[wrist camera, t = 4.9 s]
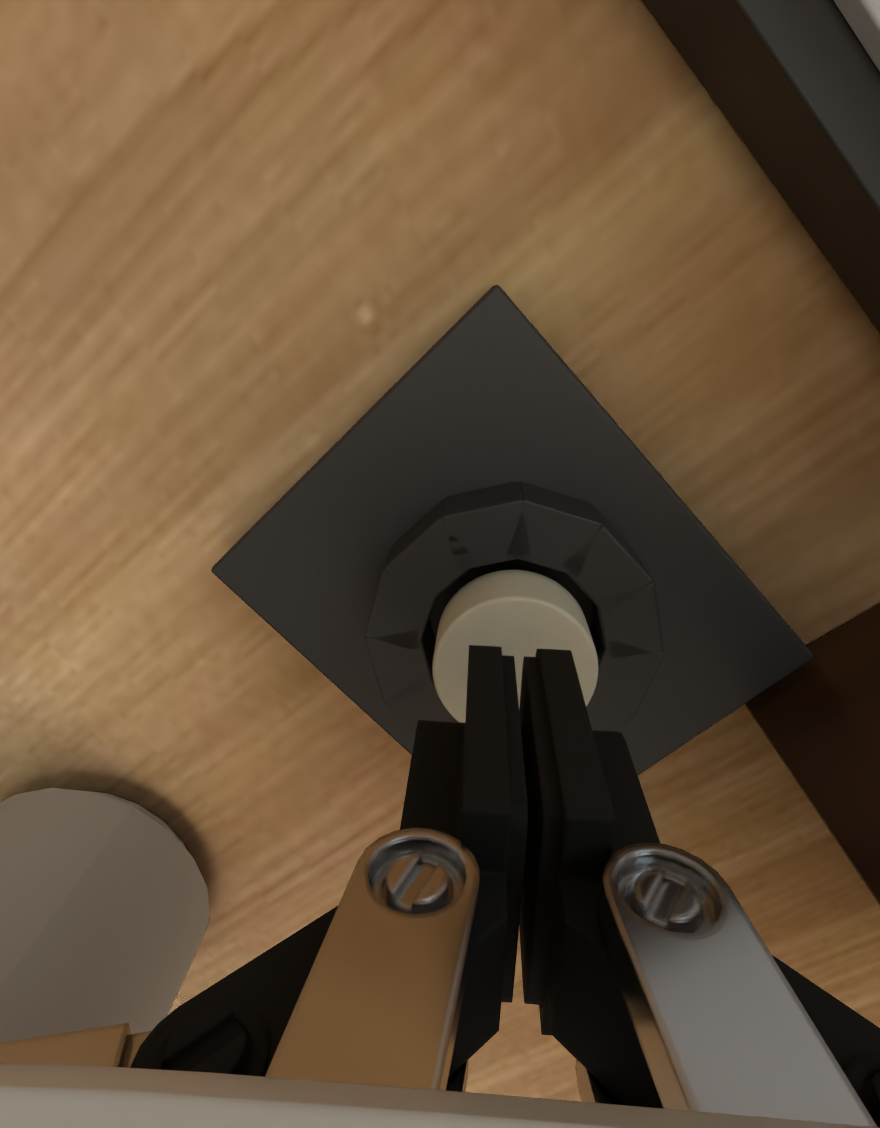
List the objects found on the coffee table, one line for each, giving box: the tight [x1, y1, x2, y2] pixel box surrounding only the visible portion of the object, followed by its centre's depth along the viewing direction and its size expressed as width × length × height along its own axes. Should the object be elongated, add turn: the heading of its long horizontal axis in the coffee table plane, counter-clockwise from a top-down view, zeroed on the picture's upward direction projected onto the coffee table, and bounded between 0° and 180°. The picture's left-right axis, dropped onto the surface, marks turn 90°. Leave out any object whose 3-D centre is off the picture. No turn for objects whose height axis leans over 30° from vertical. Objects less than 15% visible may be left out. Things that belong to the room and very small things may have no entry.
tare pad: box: [211, 285, 813, 775], centre depth 15 cm, size 11×9×3 cm
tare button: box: [432, 570, 599, 723], centre depth 14 cm, size 3×3×2 cm
